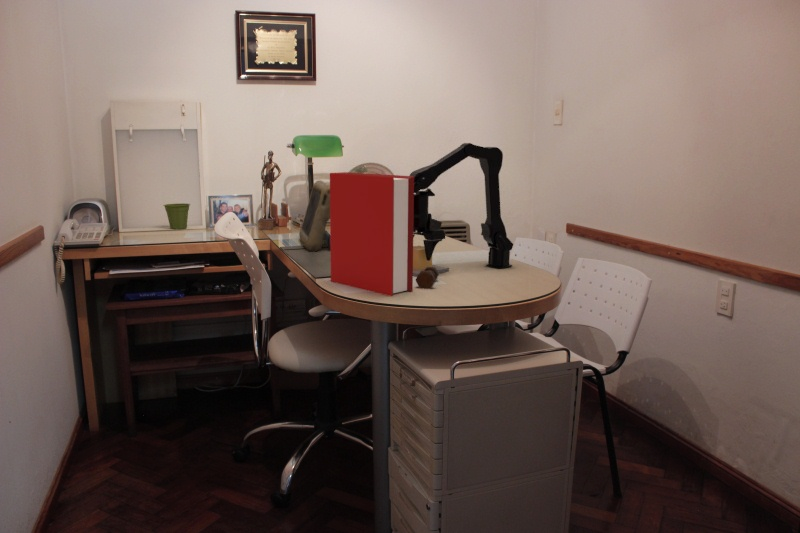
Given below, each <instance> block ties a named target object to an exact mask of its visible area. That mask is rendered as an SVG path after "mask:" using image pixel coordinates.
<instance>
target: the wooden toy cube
mask: <svg viewBox="0 0 800 533" xmlns="http://www.w3.org/2000/svg"><path fill="white" fill-rule="evenodd" d="M432 265H433V255H432V256H431V259H430V261H427V259H426V254H425V248H424V245H415V246H414V245H413V269H415V270H422V269H426V267H432Z"/></svg>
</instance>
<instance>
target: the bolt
mask: <svg viewBox="0 0 800 533" xmlns="http://www.w3.org/2000/svg"><path fill="white" fill-rule="evenodd" d="M439 276H440V273H438V271H437V270H436V268H435V267H426V269H425V270H424V271H421V272H420V273H419V275H418V276H417V277H416V278H415V282H416V284H417V286H418V287H419V289H423V288H424V290H425V289H426V290H427V289H432V288H433V285H434V284H435V283H436V281H437V279H438V277H439Z"/></svg>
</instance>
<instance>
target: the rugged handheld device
mask: <svg viewBox="0 0 800 533" xmlns="http://www.w3.org/2000/svg"><path fill="white" fill-rule="evenodd" d="M311 188H312V189H311V192H310V194H309V195H310V196H309V201H308V204H307V206H306V209H305V215H304V218H303V221H302V225H301V228H300V230H299V235H298V236H299V240H300V242H301V244H302V245H303V246H304V248H305V250H307V251H312V252H313V253H314V252H317V251H319V250H321V249H322V247H323V244H324V243H325V244H326V245H327V248H328V249H329V250H330V251H331V241H330V232H329V231H327V230H326V226H327V224H328V221H329V220H330V184H326V183H325V182H324V180H317V181H315V182H314V183H313V185H312V187H311Z"/></svg>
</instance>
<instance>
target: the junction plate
mask: <svg viewBox="0 0 800 533" xmlns="http://www.w3.org/2000/svg"><path fill="white" fill-rule="evenodd" d="M432 267H435V268H436V270H437V271H438V273H439V274H441V273H447V272H449V271H450V268H449V267H445V266H440V265H435V264H432ZM424 270H425V269H422V270H415V269H413V277H416V278H417V276H418V275H419V273H420V272H421V271H424Z"/></svg>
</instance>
